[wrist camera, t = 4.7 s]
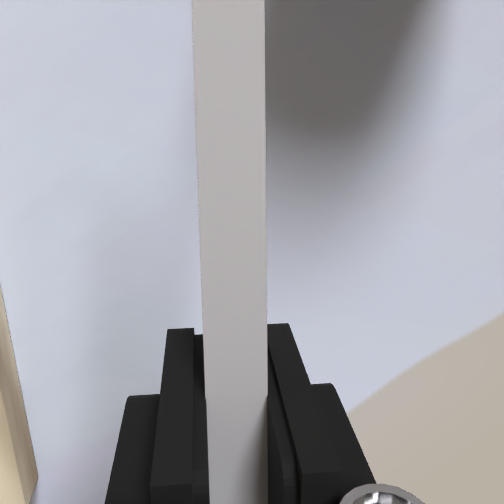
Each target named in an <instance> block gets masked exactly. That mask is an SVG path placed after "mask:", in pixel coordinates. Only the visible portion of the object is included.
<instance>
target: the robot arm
mask: <svg viewBox="0 0 504 504" xmlns="http://www.w3.org/2000/svg"><path fill="white" fill-rule="evenodd" d="M267 368H268V395H267V443H268V504H425V503H423V502H422V501H421V500H420V499H418V498H417V497H416V496H414V495H413V494H411V493H409V492H407V491H405V490H403V489H401V488H399V487H395V486H391V485H386V484H376V481H375V479H374V477H373V474H372V472H371V470H370V467H369V465H368V463H367V461H366V458H365V456H364V454H363V452H362V449H361V447H360V444H359V442H358V440H357V438H356V435H355V433H354V431H353V428H352V426H351V424H350V422H349V419H348V417H347V415H346V412H345V410H344V408H343V405H342V403H341V401H340V398H339V396H338V394H337V392H336V389H335V388H334V386H333V385H332V384H331V383H325V384H310V381H309V378H308V375H307V373H306V370H305V367H304V364H303V362H302V359H301V356H300V353H299V351H298V348H297V345H296V342H295V340H294V337H293V334H292V331H291V329H290V326H289V324H288V323H283V324H267ZM105 504H210V492H209V463H208V434H207V405H206V399H205V374H204V345H203V334H201V335H194V328H183V329H168V330H167V338H166V347H165V355H164V364H163V373H162V382H161V391H160V394H153V395H137V396H129V397H128V398H127V401H126V405H125V410H124V415H123V419H122V424H121V429H120V434H119V438H118V443H117V448H116V452H115V457H114V462H113V466H112V471H111V476H110V481H109V485H108V490H107V495H106V499H105Z"/></svg>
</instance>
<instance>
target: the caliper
mask: <svg viewBox="0 0 504 504" xmlns="http://www.w3.org/2000/svg"><path fill="white" fill-rule="evenodd" d="M192 28H193V57H194V85H195V114H196V143H197V172H198V201H199V230H200V258H201V287H202V316H203V345H204V374H205V399H206V405H207V434H208V463H209V492H210V504H268V443H267V395H268V368H267V244H266V124H265V10H264V0H192Z"/></svg>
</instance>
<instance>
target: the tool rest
mask: <svg viewBox="0 0 504 504" xmlns="http://www.w3.org/2000/svg"><path fill="white" fill-rule="evenodd" d="M37 479H38V473H37V468H36V463H35V458H34V453H33V448H32V443H31V438H30V433H29V428H28V422H27V417H26V412H25V407H24V402H23V397H22V392H21V387H20V382H19V377H18V372H17V367H16V362H15V357H14V352H13V347H12V342H11V337H10V332H9V327H8V322H7V317H6V312H5V307H4V302H3V297H2V292H1V287H0V504H29V502H30V499H31V497H32V494H33V491H34V488H35V485H36V482H37Z"/></svg>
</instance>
